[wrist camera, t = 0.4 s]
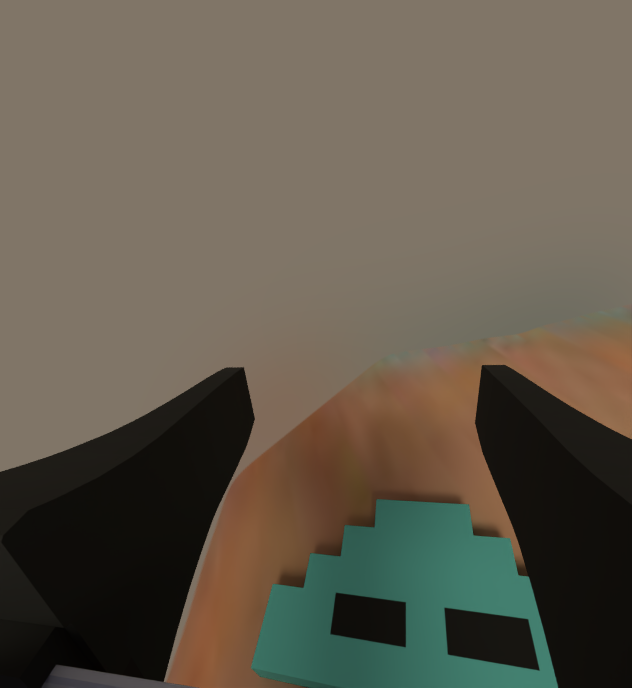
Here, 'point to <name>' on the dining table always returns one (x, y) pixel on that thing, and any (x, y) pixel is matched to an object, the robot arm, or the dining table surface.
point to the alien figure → (408, 610)
